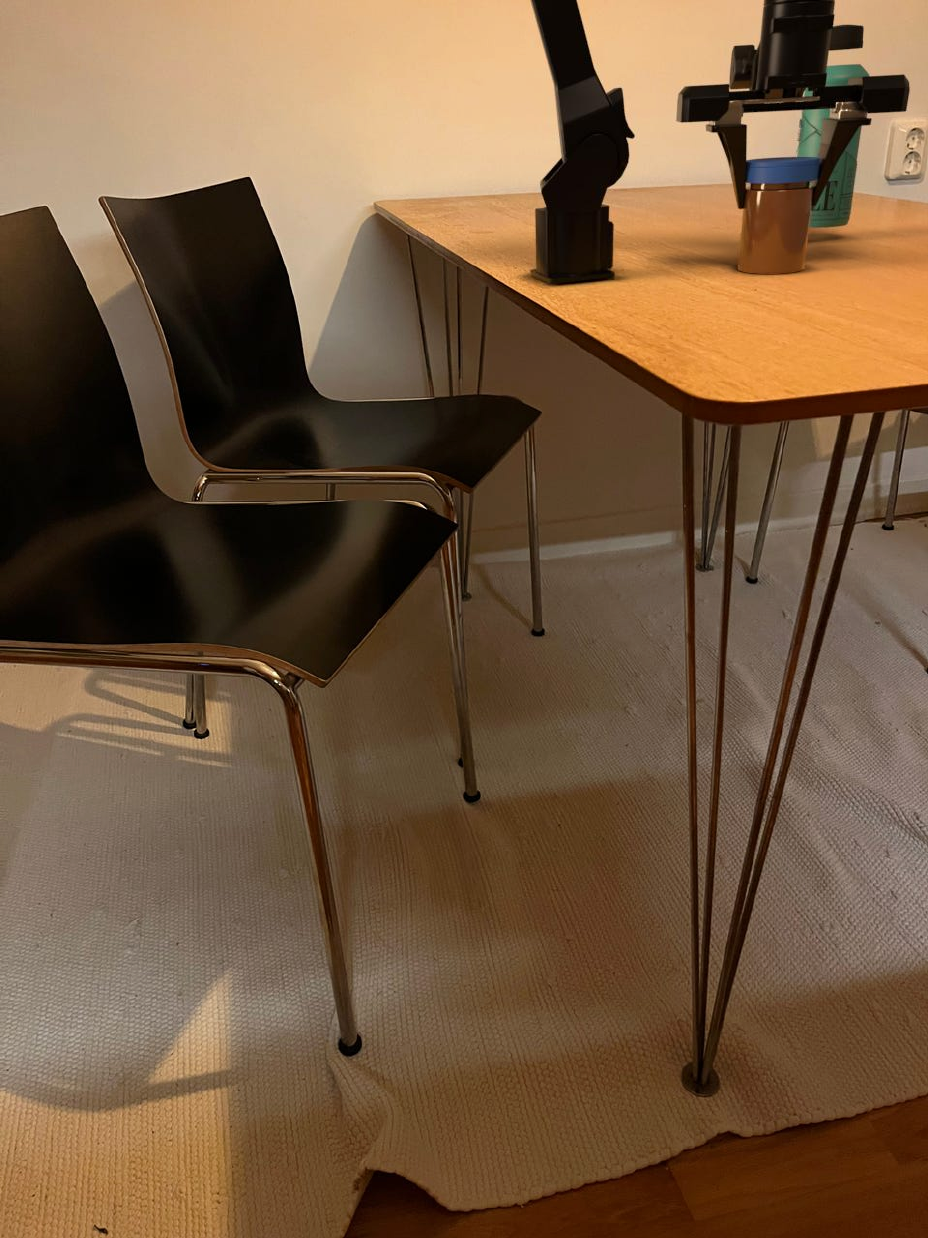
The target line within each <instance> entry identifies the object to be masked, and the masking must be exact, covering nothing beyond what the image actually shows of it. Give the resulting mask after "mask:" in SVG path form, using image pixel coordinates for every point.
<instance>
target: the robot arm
mask: <svg viewBox="0 0 928 1238" xmlns="http://www.w3.org/2000/svg"><path fill="white" fill-rule="evenodd" d="M530 3H531V7H532V11H533V14H534V18H535V22H536V25H537V30H538V33H539V36H540V40H541V43H542V47H543V50H544V54H545V58H546V62H547V65H548V68H549V72H550V76H551V80H552V83H553V89H554V91H553V92H554V97H555V98H554V99H555V100H554V101H555V110H556V121H557V128H558V137H559V147H560V155H561V157H560V158H559V159H558V161H557V162H556V163H555V164H554V165H553V166H552V168H551V169H550V170H548V172H547V173H546V174H545V175H544V177H543V178H542V179H541V180H540V182H539V188H540V194H541V196H542V199H543V201H544V205H545V206H544V207H537V208H535V209H534V216H535V218H534V219H535V220H534V221H535V222H534V223H535V224H534V225H535V268H532V269H529V273H530V275H531V276H532V277H535V278H537V279H539V280H542V281H544V282H546V283H549V284H563V283H564V284H565V283H572V282H573V283H574V282H583V281H590V280H600V279H609V278H615V277H616V271H614V270H611V269H612V268H613V267H614V232H615V224H614V223H613V221H611V220H610V205H608V204H603V202H604V200H605V198H606V197H605V196H606V195H607V191H608V189H609V188H611V187H612V186H614V185H615V184H616V183H617V182H618V181H619V180H620V179H621V178H622V177H623V176H624V173H625V171H626V169H627V168H628V165H629V160H630V147H629V145H630V144H629V142H628V139H631V140H633V139H635V136H636V135H635V133H634V132H633V131H632V129H631V128H630V126H629V124H628V121H627V117H626V110H625V99H624V98H625V97H624V91H623V88H622V87H614V88H612V89H611V90H609V91H607V92H606V90H605V88H604V85H603V84H602V82H601V80H600V78H599V75H598V74H597V71H596V69H595V65H594V62H593V58H592V54H591V49H590V47H589V42H588V38H587V34H586V31H585V26H584V23H583V19H582V15H581V12H580V7H579V4H578V0H530ZM835 5H836V0H763V7H762V17H761V26H760V39H759V43H758V45H757V48H756V47H755V45H754V44H742V45H734V46H733V48H732V51H731V57H730V67H729V83H721V84H700V85H686V86H683V88H682V89H681V90H680V91H679V92H678V94H677V101H676V120H675V121H676V122H678V123H682V124H683V123H702V122H703V123H704V122H708V123H707V124H705V132H709V133H712V134H713V133H714V134H715V133H716V134H717V136H718V138H719V142H720V143H721V146H722V148H723V152H724V155H725V158H726V161H727V165H728V169H729V173H730V178H731V182H732V187H733V192H734V197H735V202H736V207H737V209H738V210H743V208H744V201H745V194H746V188H747V183H746V160H747V153H748V152H747V149H748V148H747V147H748V145H747V144H748V125H747V124H744V123H742V118H743V117H744V114H750V113H772V112H788V111H789V112H791V111H801V110H813V109H830V118H827V119H823V120H822V136H821V144H820V148H819V152H818V157H817V158H820V163H819V172H818V179H817V180H814V181H812V185H811V186H814V191H813V199H812V206H816V205H817V203H818V201H819V199H820V197H821V195H822V193H823V191H824V189H825V186H826V184H827V182H828V180H829V178H830V176H831V174H832V172H833V170H834V168H835V166H836V164H837V162H838V161H839V159H840V157H841V155H842V154H843V152H844V150H845V149H846V147H847V146H848V144H849V143H850V141H851V139H852V138H853V136H854V135H855V133H856V131H857V130H858V128H859V127H860V126H862V127H863V126H865V127H866V126H870V125H871V124H872V121H873V120H872V118H870V117H868V114H886V113H887V114H888V113H904V112H905V113H906V112H907V109H908V102H909V97H910V91H911V87H910V81H909V80H908V78H907V76H906V75H905V74H904V73H903V74H885V75H869V76H866V77H850V79H849V81H848V84H847V85H843V86H826V79H827V73H826V70H827V66H828V60H829V53H830V51H829V46H830V38H831V30H832V29H833V26H834V25H835V23H834V22H835ZM806 88H808V91H813V94H812V96H805V97H804V94H805V90H806ZM730 90H731V91H730ZM732 90H733V91H732Z"/></svg>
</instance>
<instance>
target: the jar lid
mask: <svg viewBox="0 0 928 1238" xmlns="http://www.w3.org/2000/svg"><path fill="white" fill-rule="evenodd" d="M819 163H820V158H817V157H797V156H779V157H765V158H764V157H763V158H753V159H746V184H750V183H756V184H779V183H798V182H808V181H814V180H817V179H818V172H819Z"/></svg>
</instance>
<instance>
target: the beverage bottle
mask: <svg viewBox="0 0 928 1238" xmlns="http://www.w3.org/2000/svg"><path fill="white" fill-rule="evenodd" d="M864 29H865V28H864V25H860V24H838V25H833V29H832V30H831V38H830V46H829V52H830V51H831V52H832V51H833V52H834V51H844V50H845V51H847V50H859V49H863V47H864V32H865V31H864ZM826 73H827V79H826V86H843V85H847V84H848V81H849V79H850V77H866V76H870V73H869V72H868V71H867V70H866V68H865V67H863V65H862V64H861V63H852V64H851V63H850V64H835V65H827V70H826ZM812 94H813V91H808V88H806V90H805V91H804V93H803V97H805V96H812ZM800 111H801V118H799V124H798V127H799V129H798V132H797V133H798V134H797V135H798V137H797V141H798V144H797V145H798V146H797V148H796V153H795V154H796V157H818V152H819V148H820V144H821V136H822V120H823V119H827V118H830V109H813V110H800ZM862 127H863V126H860V127H859V128H858V130H857V131H856V133H855V135H854V136H853V138H852V139H851V141H850V143H849V144H848V146H847V147H846V149H845V150H844V152H843V154H842V155H841V157H840V159H839V161H838V162H837V164H836V166H835V168H834V170H833V172H832V174H831V176H830V178H829V180H828V182H827V184H826V186H825V189H824V191H823V193H822V195H821V197H820V199H819V201H818V203H817V205H816V206H812V207H811V216H810V224H809V229H823V228H838V227H844V226H847V225H848V223H849V221H850V218H851V215H852V206H853V197H854V191H855V184H856V176H857V169H858V168H857V167H858V154H859V148H860V140H861V136H862V135H861V134H862ZM810 185H812V181H810Z"/></svg>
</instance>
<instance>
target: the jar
mask: <svg viewBox="0 0 928 1238" xmlns="http://www.w3.org/2000/svg"><path fill="white" fill-rule="evenodd" d="M813 191H814V186H811V185H810V181H808V182H798V183H779V184H756V183H749V187H746V194H745V201H744V208H743V209H742V216H741V225H740V226H741V227H740V239H739V249H738V259H737V270H738V271H740V272H743V273H748V274H749V273H750V274H758V275H759V274H760V275H776V274H777V275H780V274H790V273H797V272H800V271H803V270H804V269H805V264H806V255H807V248H808V247H807V246H808V239H809V231H810V228H809V224H810V216H811V207H812V199H813Z"/></svg>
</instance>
